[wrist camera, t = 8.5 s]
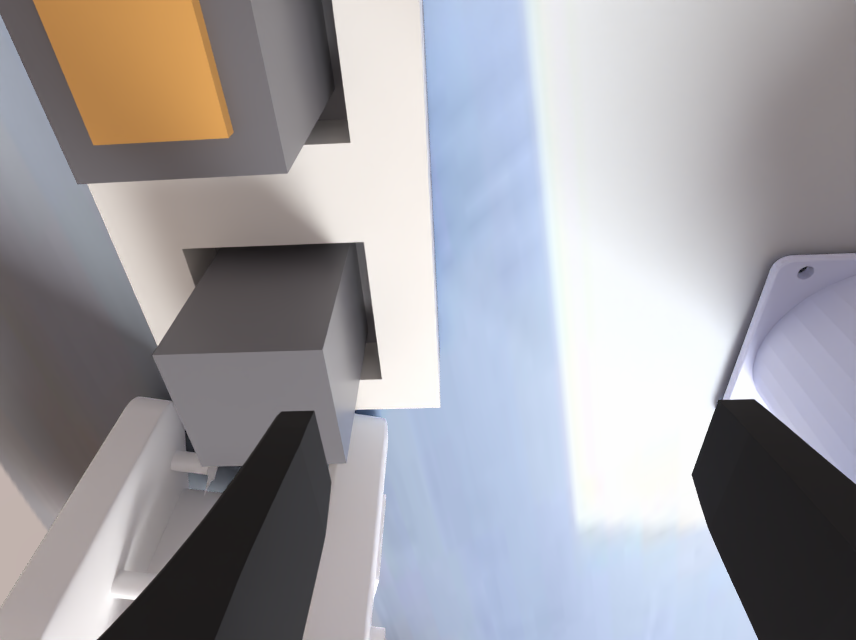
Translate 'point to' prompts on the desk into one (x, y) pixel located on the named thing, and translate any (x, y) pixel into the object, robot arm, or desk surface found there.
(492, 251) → the desk surface
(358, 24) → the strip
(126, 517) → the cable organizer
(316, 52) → the plug
